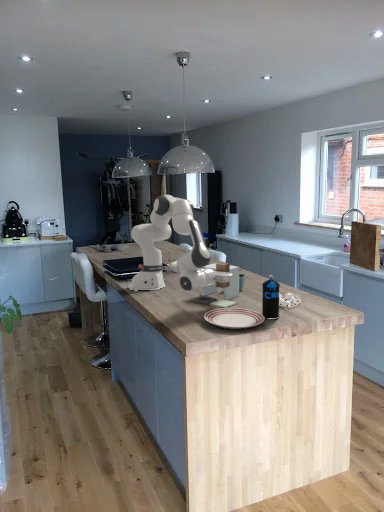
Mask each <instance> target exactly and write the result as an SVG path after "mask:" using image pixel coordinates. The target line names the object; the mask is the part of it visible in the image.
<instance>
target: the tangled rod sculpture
mask: <svg viewBox="0 0 384 512" xmlns="http://www.w3.org/2000/svg"><path fill="white" fill-rule="evenodd" d="M282 296H283V295H282V294H281V293H280V292H279V307H282V308H286V307H293V306H296V307H297V306H298V305H299V304H300V303H302V301H301V298H300V297H299V296H297V295H294V294H293V293H290V292H288V293H285V295H284V298H283V297H282ZM286 299H289V300H286ZM285 300H286V301H285ZM291 302H292V303H291ZM280 304H282V305H280ZM284 304H285V305H284ZM294 304H296V305H294ZM287 305H288V306H287ZM292 305H293V306H292Z"/></svg>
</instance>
